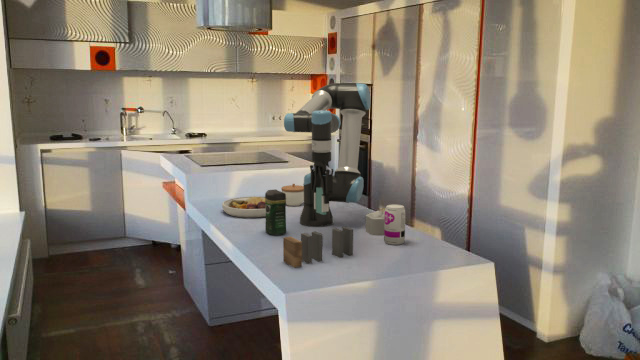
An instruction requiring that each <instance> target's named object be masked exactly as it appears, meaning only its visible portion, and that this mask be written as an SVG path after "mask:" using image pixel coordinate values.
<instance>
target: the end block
mask: <svg viewBox="0 0 640 360" xmlns="http://www.w3.org/2000/svg"><path fill="white" fill-rule="evenodd" d="M282 241H283V244H282V246H283V248H282V249H283V262H284V263H285V264H287V265H288V266H290V267H292V268H300V267H303V264H302V263H303V261H302V242H301V240H299V239H297V238H295V237H293V236H286V237H283V240H282Z"/></svg>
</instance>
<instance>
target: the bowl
mask: <svg viewBox="0 0 640 360" xmlns="http://www.w3.org/2000/svg"><path fill="white" fill-rule="evenodd" d="M221 205H222V210H223V211H224V213H226V214H227V215H229V216H232V217H234V218H235V217H236V218H243V219H245V218H246V219H259V218H266V203H265V196H255V195H254V196H243V197H242V196H241V197H240V196H239V197H236V198H235V197H234V198H230V199H226V200H223V202H222V203H221Z"/></svg>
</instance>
